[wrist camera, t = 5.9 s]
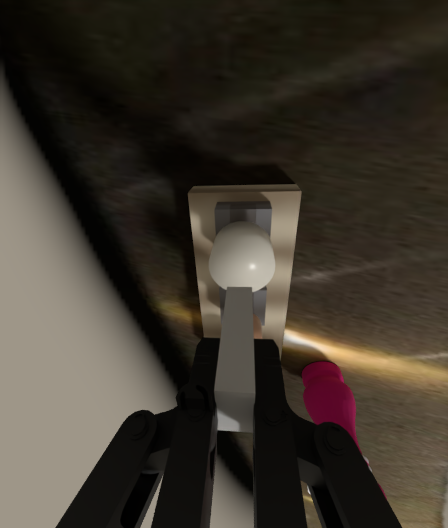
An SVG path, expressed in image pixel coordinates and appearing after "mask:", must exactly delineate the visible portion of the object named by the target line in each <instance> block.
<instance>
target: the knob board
mask: <svg viewBox="0 0 448 528" xmlns="http://www.w3.org/2000/svg"><path fill="white" fill-rule="evenodd" d="M300 199H301V190H300V189H299V187H298V186H297V185H296V184H278V185H227V186H193V187H192V189H191V190H190V191H189V192H188V200H189V209H190V218H191V227H192V236H193V245H194V253H195V262H196V271H197V280H198V289H199V298H200V306H201V315H202V324H203V333H204V337H209V338H221V331H222V323H223V315H224V307H225V299H226V291H227V290H225V289H223V288H222V287H220V286H219V285H218V284H217V283H216V282H215V281H214V280H213V278H212V276H211V274H210V271H209V258H210V255H211V251H212V247H213V244H214V240H215V238H216V236H217V234H218V232H219V231H220V230H221V229H222V228H224V227H225V226H227V225H228V224H231V223H234V222H238V221H247V222H252V223H255V224H257V225H259V226H260V227H262V228H263V229H264V230H265V231H266V232H267V234H268V235H269V237H270V240H271V243H272V248H273V253H274V259H275V272H274V275H273V277H272V279H271V280H270V281H269V283H268V284H267V285H265V286H264V287H263V288H261V289H259V290H257V291H255V292H252V300H253V314H255V315H256V316H257V317H258V318H259V319H260V321H261V325H262V339H273V340H274V341H275V343H276V344H277V346H278V348H279V354H280V361H281V353H282V344H283V336H284V328H285V320H286V312H287V304H288V296H289V288H290V280H291V272H292V264H293V256H294V248H295V240H296V231H297V223H298V215H299V207H300Z"/></svg>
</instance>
